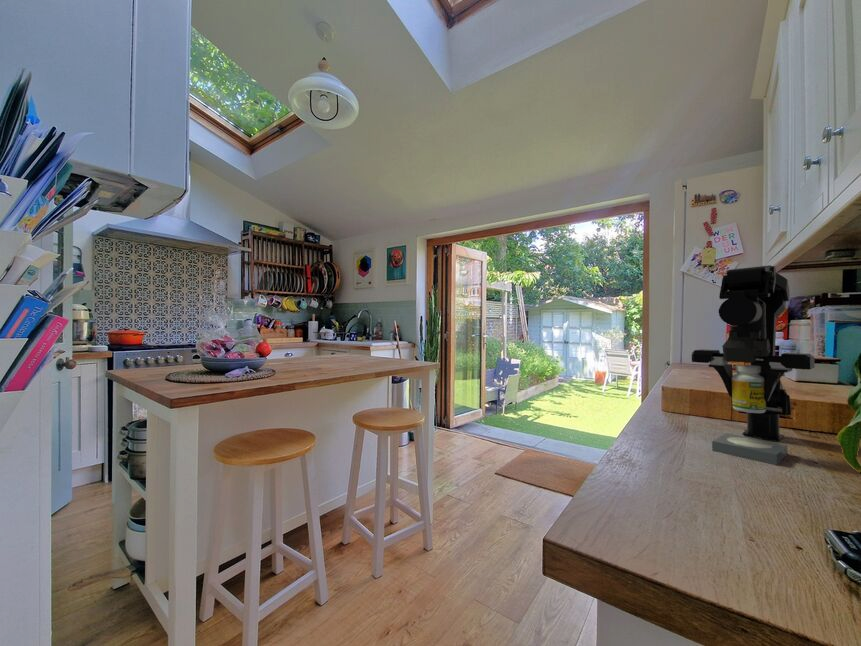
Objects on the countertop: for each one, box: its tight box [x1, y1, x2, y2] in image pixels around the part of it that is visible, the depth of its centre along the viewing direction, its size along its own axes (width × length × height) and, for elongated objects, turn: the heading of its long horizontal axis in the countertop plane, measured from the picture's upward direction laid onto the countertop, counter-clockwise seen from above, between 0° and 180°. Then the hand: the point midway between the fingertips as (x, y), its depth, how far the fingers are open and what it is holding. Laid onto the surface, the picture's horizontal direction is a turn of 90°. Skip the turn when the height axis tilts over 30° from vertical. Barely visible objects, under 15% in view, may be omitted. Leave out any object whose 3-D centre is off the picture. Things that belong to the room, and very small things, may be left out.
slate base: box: [711, 432, 788, 466], centre depth 74 cm, size 10×10×2 cm
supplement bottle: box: [731, 364, 766, 413], centre depth 74 cm, size 5×5×10 cm
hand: (748, 398), depth 74 cm, fingers closed on supplement bottle, 5 cm apart
